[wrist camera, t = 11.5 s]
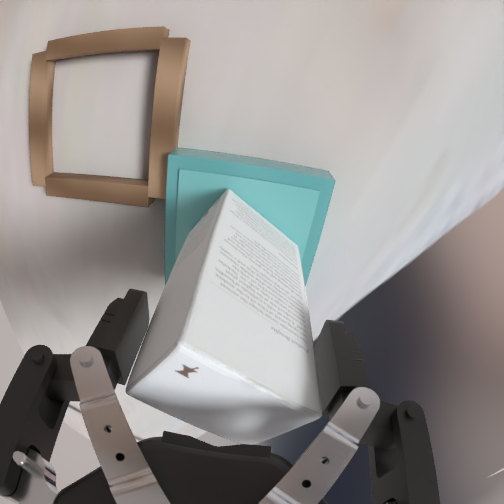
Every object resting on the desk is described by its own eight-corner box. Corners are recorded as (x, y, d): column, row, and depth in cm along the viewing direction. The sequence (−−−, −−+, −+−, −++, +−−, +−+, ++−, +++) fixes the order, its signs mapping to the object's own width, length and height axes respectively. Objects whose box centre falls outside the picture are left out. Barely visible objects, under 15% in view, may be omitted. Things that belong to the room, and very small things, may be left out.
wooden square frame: (43, 45, 14) (33, 44, 13) (192, 30, 15) (187, 26, 14) (42, 188, 20) (33, 194, 19) (173, 203, 21) (168, 210, 20)
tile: (177, 147, 19) (167, 154, 17) (329, 171, 19) (336, 181, 17) (172, 273, 24) (164, 289, 22) (296, 292, 24) (298, 310, 22)
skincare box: (187, 233, 19) (117, 391, 9) (228, 185, 18) (176, 339, 7) (257, 285, 21) (248, 450, 11) (301, 246, 20) (328, 417, 9)
